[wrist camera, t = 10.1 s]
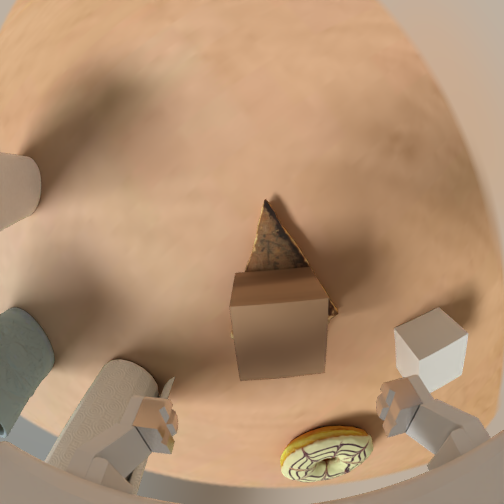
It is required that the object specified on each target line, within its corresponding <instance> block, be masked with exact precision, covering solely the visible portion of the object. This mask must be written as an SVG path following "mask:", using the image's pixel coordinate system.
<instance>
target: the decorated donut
mask: <svg viewBox="0 0 504 504" xmlns="http://www.w3.org/2000/svg"><path fill="white" fill-rule="evenodd" d="M372 451H373V443H372V438H371V436H370V435H368V434H367V433H366V432H365V430H363V429H360V428H355V427H353V426H350V427H349V426H326V427H322V428H318V429H315V430H312V431H310V432H307V433H304V434H302V435H300V436H299V437H297V438H295V439H293V440H292V441H291V442H290V443H289V444H288V445H287V447H286V448H285V450H284V452H283V453H282V455H281V459H280V463H281V471H282V473H283V475H284V476H285V477H287V478H289V479H291V480H296V481H300V482H315V481H322V480H328V479H332V478H335V477H338V476H341V475H343V474H346V473H348V472H350V471H351V470H353V469H354V468H356V467H357V466H359V465H360V464H362V463H363V462H364V461H365V460H366V459H367V458H368V457H369V455H370V454H371V452H372Z"/></svg>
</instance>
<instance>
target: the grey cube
mask: <svg viewBox="0 0 504 504" xmlns="http://www.w3.org/2000/svg"><path fill="white" fill-rule="evenodd" d="M394 335H395V350H396V367H397V369H398V371H399V372H400V374H401V375H402V377H408V376H411V375H415V374H417V375H418V376H419V377H420V379H421V380H422V382H423V383H424V385H425V386H426V388H427V389H428V391H429V393H431V392H433V391H435V390H437V389H438V388H440V387H442V386H444V385H445V384H447V383H449V382H451V381H452V380H454V379H456V378H457V377H459V376H460V375H462V370H463V365H464V360H465V354H466V347H467V340H468V333H467V332H466V331H465V330H464V329H463V328H462V327H461V326H460V325H459V324H458V323H456V322H455V321H454V320H453V319H452V318H451V317H450V316H448V315H447V314H446V313H445V312H444V311H443V310H442V309H440V308H439V307H438V308H436V309H434V310H432V311H430V312H428V313H426V314H424V315H422V316H419V317H417V318H415V319H413V320H411V321H409V322H407V323H404V324H402V325H400V326H398V327H395V328H394Z"/></svg>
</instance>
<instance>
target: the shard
mask: <svg viewBox="0 0 504 504" xmlns="http://www.w3.org/2000/svg"><path fill="white" fill-rule="evenodd" d="M302 267H310V265H309V263H308V260H307V259H306V258H305V257H304V255H303V253H302V252H301V250H300V249H299V247H298V245H297V244H296V242H295V241H294V240H293V239H292V238H291V236H290V234H289V233H288V232H287V230H286V229H285V228H284V227H283V226H282V225H281V223H280V221H279V220H278V218H277V215H276V212H275V211H274V210H273V208H272V206H271V205H270V203H269V202H268V201H267V200H266V199H265V200H264V204H263V206H262V209H261V215H260V218H259V222H258V226H257V233H256V239H255V242H254V246H253V250H252V254H251V257H250V260H249V262H248V264H247V266H246V270H245V272H255V271H267V270H279V269H291V268H302ZM311 269H312V268H311ZM318 281H319V280H318ZM319 283H320V282H319ZM320 284H321V283H320ZM321 286H322V285H321ZM322 288H323V289H324V287H323V286H322ZM324 291H325V289H324ZM325 293H326V291H325ZM326 295H327V296H328V294H327V293H326ZM328 298H329V296H328ZM337 314H338V309H337V308H336V307H335V306H334V304H333V303H332V301H331V300H330V298H329V300H328V322H329V321H330V319H331V318H332V317H334V316H336V315H337ZM231 338H232V339H234V336H233V330H232V332H231Z"/></svg>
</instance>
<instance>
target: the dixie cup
mask: <svg viewBox="0 0 504 504" xmlns="http://www.w3.org/2000/svg"><path fill="white" fill-rule="evenodd" d="M40 195H41V176H40V171H39V168H38V166H37V164H36V163H35V161H34V160H33V159H32V158H30V157H28V156H21V155H15V154H8V153H1V152H0V231H2V230H4V229H5V228H7V227H9V226H11V225H13V224H15V223H17V222H18V221H20V220H22V219H24V218H26V217H28V216H30V215H31V214H32V213H33V212H34V211H35V209H36V208H37V206H38V203H39V200H40Z"/></svg>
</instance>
